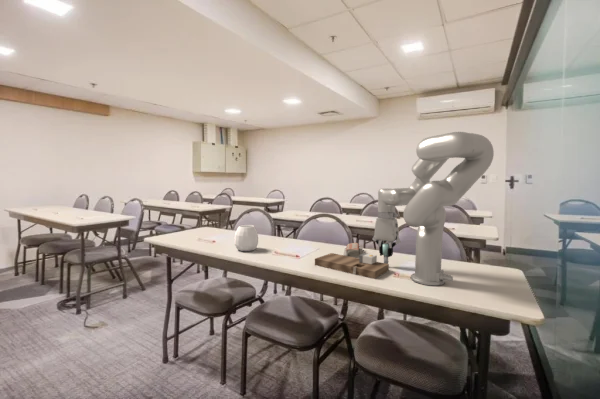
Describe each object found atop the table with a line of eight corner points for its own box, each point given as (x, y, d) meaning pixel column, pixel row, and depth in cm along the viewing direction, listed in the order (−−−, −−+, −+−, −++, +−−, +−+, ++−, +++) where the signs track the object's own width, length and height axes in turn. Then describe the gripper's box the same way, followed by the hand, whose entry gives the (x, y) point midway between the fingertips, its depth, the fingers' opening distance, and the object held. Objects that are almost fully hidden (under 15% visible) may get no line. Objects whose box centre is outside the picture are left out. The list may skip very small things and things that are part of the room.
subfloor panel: (388, 270, 133) (389, 263, 133) (374, 279, 122) (374, 271, 122) (331, 258, 152) (331, 252, 152) (314, 265, 141) (314, 258, 141)
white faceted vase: (230, 249, 171) (230, 225, 170) (251, 246, 179) (250, 223, 178) (241, 253, 161) (241, 228, 160) (262, 250, 169) (262, 226, 168)
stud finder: (376, 262, 135) (376, 255, 135) (371, 264, 131) (371, 257, 131) (364, 259, 139) (364, 252, 139) (359, 262, 135) (359, 254, 135)
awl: (390, 265, 139) (390, 243, 138) (387, 266, 136) (388, 244, 136) (384, 264, 141) (384, 242, 140) (381, 265, 139) (381, 244, 138)
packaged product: (363, 249, 154) (343, 248, 156) (362, 258, 154) (343, 257, 156) (362, 242, 171) (345, 241, 173) (362, 250, 172) (344, 249, 174)
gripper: (407, 216, 135) (406, 256, 136) (373, 213, 146) (373, 251, 147) (401, 217, 129) (400, 260, 130) (366, 215, 140) (365, 254, 141)
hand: (385, 255), depth 138 cm, fingers closed on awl, 3 cm apart
